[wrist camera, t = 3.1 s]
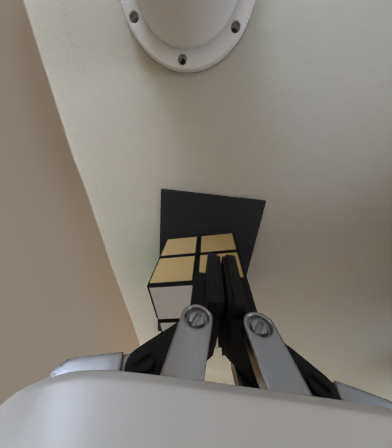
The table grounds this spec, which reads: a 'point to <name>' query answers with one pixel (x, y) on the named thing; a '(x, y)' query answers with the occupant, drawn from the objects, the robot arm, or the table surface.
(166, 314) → the puzzle cube
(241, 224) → the mat
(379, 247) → the table surface
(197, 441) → the robot arm
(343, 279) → the table surface
